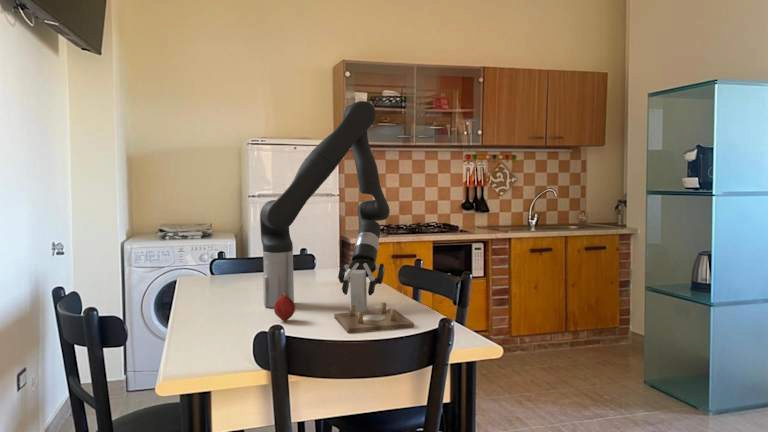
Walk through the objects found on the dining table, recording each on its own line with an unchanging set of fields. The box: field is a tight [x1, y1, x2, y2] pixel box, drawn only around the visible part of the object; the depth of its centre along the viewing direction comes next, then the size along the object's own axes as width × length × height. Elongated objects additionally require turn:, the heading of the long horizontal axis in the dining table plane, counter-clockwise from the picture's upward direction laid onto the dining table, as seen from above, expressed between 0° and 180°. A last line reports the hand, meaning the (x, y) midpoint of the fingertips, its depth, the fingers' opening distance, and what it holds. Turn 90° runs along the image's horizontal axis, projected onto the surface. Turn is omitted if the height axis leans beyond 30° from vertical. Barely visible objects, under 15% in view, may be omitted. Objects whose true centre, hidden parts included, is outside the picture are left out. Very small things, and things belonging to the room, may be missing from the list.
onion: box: [273, 293, 296, 322], centre depth 175 cm, size 6×6×8 cm
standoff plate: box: [333, 302, 415, 334], centre depth 172 cm, size 18×18×4 cm
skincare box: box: [349, 270, 368, 312], centre depth 187 cm, size 6×4×12 cm
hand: (357, 293), depth 185 cm, fingers open, 7 cm apart
